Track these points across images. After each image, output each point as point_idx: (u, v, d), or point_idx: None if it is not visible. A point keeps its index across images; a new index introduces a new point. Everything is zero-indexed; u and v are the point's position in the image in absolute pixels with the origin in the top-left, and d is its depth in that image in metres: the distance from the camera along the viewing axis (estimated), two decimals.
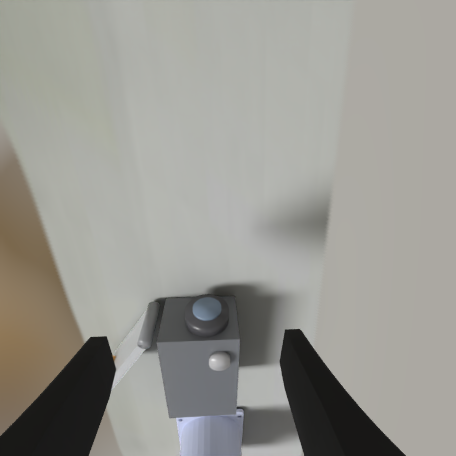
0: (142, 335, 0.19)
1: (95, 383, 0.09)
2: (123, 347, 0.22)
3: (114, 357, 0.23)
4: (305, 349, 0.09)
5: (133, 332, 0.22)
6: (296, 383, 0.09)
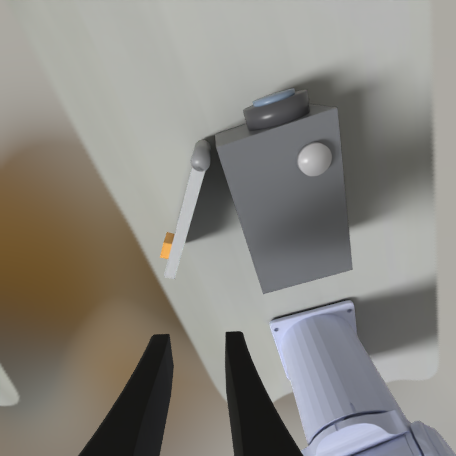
0: (195, 152, 0.13)
1: (164, 379, 0.09)
2: None
3: (173, 234, 0.18)
4: (239, 352, 0.09)
5: (186, 189, 0.17)
6: (229, 386, 0.09)
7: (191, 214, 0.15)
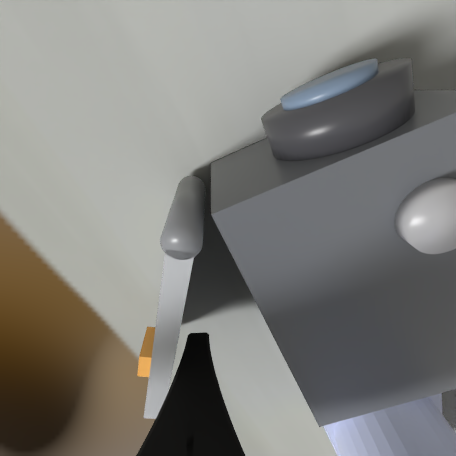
0: (168, 221, 0.06)
1: None
2: None
3: None
4: (200, 353, 0.09)
5: None
6: None
7: (177, 330, 0.08)
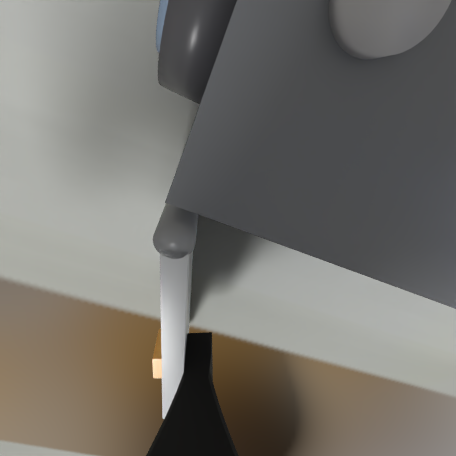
0: (160, 221, 0.06)
1: (211, 377, 0.09)
2: None
3: None
4: (195, 354, 0.09)
5: None
6: None
7: (182, 330, 0.08)
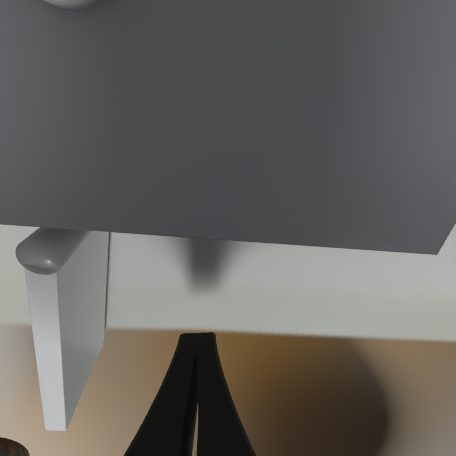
0: (30, 235, 0.06)
1: (195, 378, 0.09)
2: None
3: None
4: (207, 353, 0.09)
5: None
6: None
7: (58, 344, 0.07)
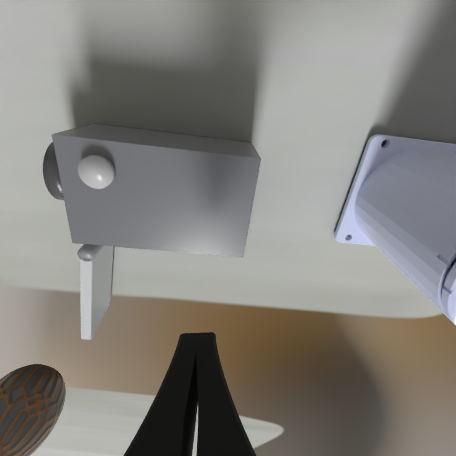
0: (82, 246, 0.16)
1: (195, 378, 0.09)
2: None
3: None
4: (207, 353, 0.09)
5: None
6: None
7: (90, 292, 0.17)
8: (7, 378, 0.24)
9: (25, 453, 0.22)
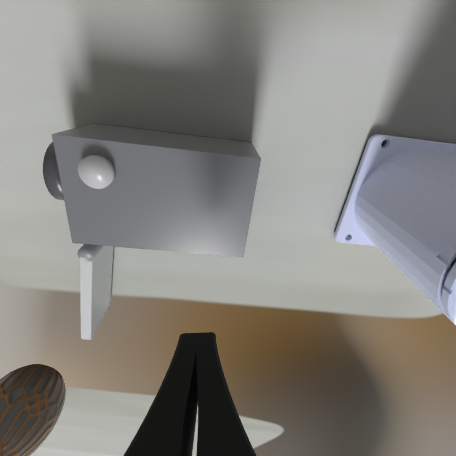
0: (82, 246, 0.16)
1: (195, 378, 0.09)
2: None
3: None
4: (207, 353, 0.09)
5: None
6: None
7: (90, 292, 0.17)
8: (7, 378, 0.24)
9: (25, 453, 0.22)
